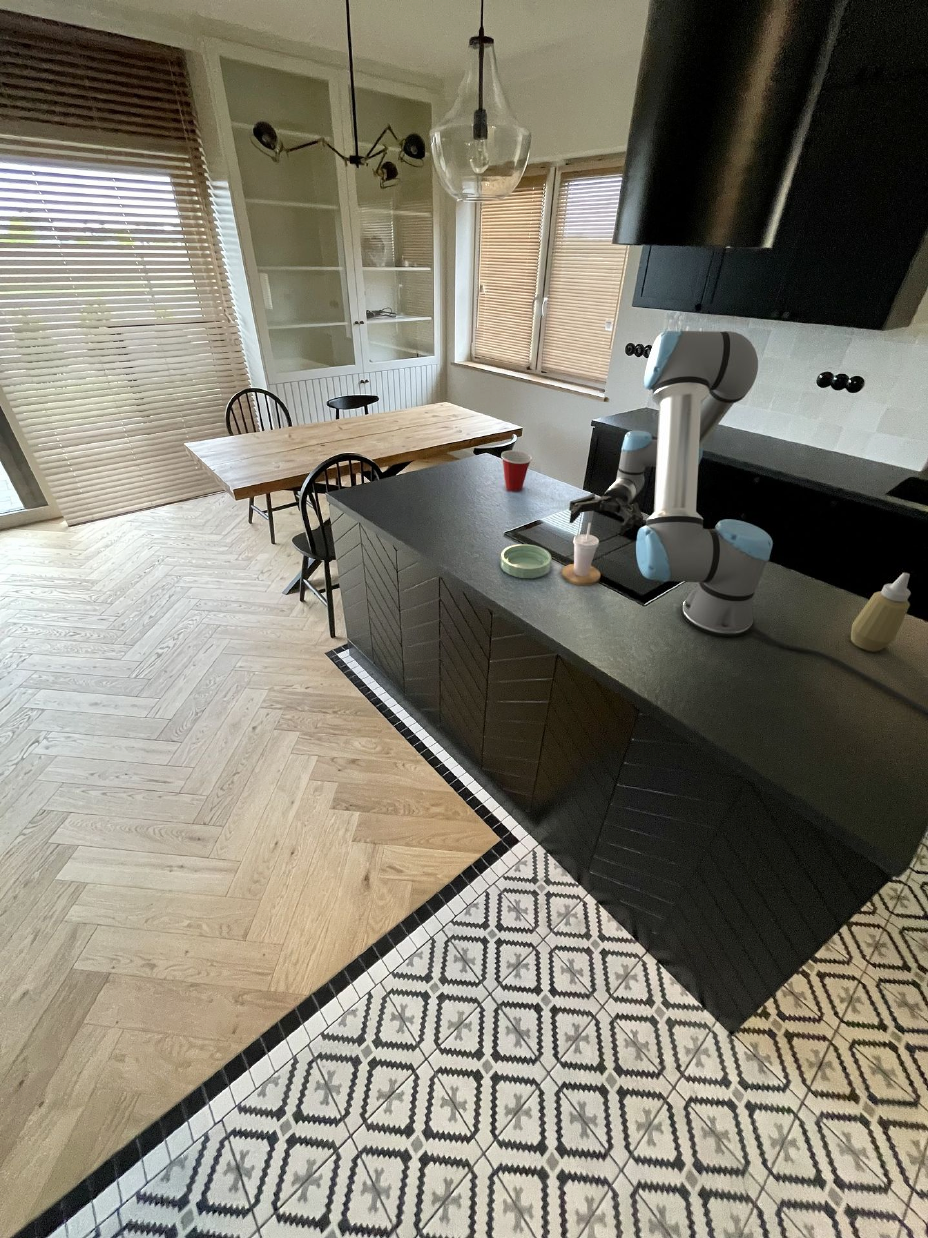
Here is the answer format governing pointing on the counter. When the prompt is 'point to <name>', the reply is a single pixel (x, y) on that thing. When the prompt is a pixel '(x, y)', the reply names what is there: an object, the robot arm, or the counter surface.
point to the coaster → (580, 580)
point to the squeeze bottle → (882, 616)
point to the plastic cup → (515, 468)
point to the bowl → (525, 561)
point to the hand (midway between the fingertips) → (596, 524)
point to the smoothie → (584, 552)
